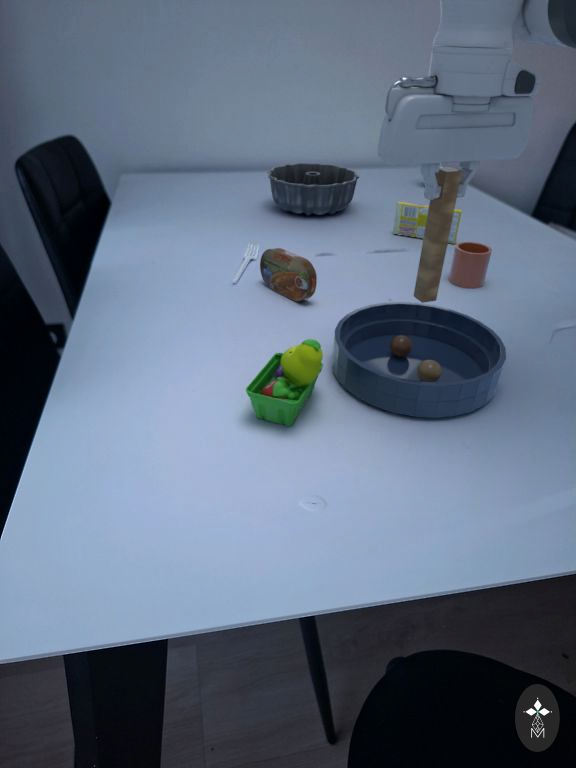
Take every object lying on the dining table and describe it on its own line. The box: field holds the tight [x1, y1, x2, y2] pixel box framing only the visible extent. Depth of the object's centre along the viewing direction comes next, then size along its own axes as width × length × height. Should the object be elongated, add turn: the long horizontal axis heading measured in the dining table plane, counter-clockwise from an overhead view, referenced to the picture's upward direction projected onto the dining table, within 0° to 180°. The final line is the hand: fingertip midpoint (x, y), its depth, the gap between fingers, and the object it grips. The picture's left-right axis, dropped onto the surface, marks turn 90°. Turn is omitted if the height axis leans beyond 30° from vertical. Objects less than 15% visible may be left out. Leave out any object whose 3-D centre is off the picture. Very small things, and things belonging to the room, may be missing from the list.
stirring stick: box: [413, 166, 462, 304], centre depth 73 cm, size 2×2×18 cm
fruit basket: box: [245, 338, 324, 427], centre depth 73 cm, size 11×9×11 cm
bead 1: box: [390, 335, 413, 357], centre depth 86 cm, size 4×4×4 cm
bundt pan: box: [267, 162, 360, 217], centre depth 156 cm, size 26×26×10 cm
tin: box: [259, 247, 318, 303], centre depth 106 cm, size 15×3×8 cm, turn 40°
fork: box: [232, 243, 260, 284], centre depth 119 cm, size 3×20×2 cm, turn 171°
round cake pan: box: [331, 301, 507, 418], centre depth 83 cm, size 26×26×6 cm
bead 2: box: [417, 360, 442, 382], centre depth 80 cm, size 4×4×4 cm
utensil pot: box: [448, 241, 493, 290], centre depth 112 cm, size 7×7×8 cm
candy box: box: [392, 201, 463, 245], centre depth 136 cm, size 16×2×8 cm, turn 65°
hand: (444, 197), depth 70 cm, fingers closed on stirring stick, 2 cm apart
